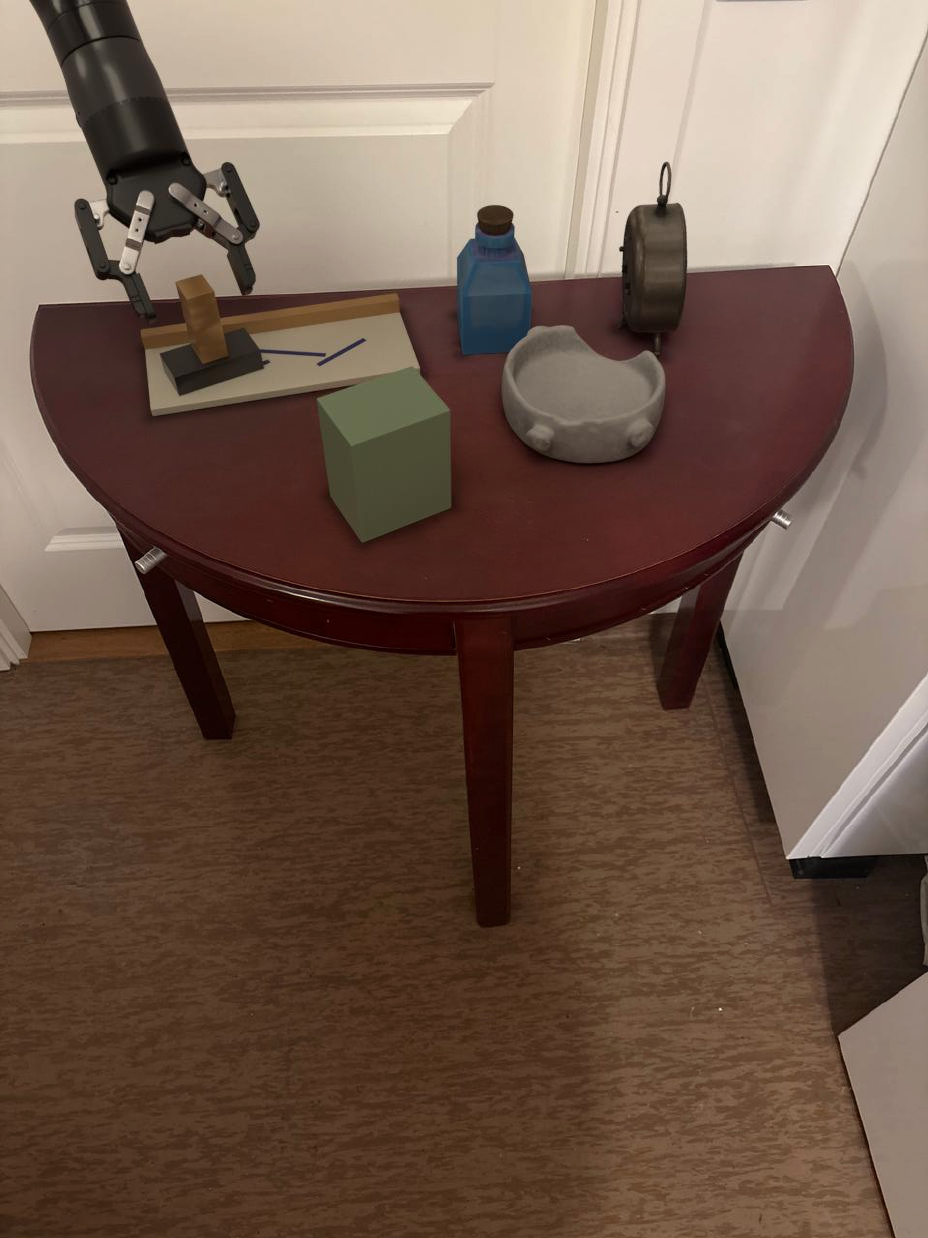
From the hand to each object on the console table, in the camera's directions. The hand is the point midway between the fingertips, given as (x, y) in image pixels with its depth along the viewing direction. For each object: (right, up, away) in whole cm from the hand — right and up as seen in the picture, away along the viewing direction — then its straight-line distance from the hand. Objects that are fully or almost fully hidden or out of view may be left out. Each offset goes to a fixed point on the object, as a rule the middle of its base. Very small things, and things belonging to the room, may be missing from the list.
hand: (201, 306), depth 86 cm
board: (+6, -3, +7) cm, 9 cm away
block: (+16, -17, -5) cm, 24 cm away
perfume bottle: (+25, 0, +10) cm, 27 cm away
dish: (+32, -9, +2) cm, 34 cm away
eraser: (0, -4, +5) cm, 6 cm away
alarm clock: (+39, +1, +10) cm, 41 cm away
